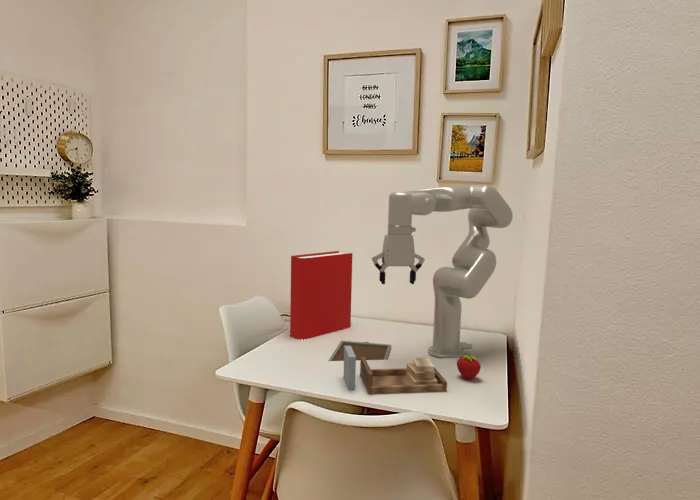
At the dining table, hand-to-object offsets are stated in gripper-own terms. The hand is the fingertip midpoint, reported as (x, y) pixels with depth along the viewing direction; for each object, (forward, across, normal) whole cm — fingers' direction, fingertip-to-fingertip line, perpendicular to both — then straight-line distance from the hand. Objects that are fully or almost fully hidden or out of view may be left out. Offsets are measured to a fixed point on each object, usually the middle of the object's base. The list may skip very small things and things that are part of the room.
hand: (397, 283), depth 157 cm
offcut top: (+23, -5, +16) cm, 28 cm away
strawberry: (+28, -20, +14) cm, 38 cm away
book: (+29, +21, -42) cm, 55 cm away
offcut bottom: (+27, -4, +16) cm, 32 cm away
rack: (+28, +2, +16) cm, 33 cm away
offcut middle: (+25, -4, +16) cm, 30 cm away
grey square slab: (+28, +17, +15) cm, 36 cm away
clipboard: (+29, +9, -12) cm, 33 cm away
